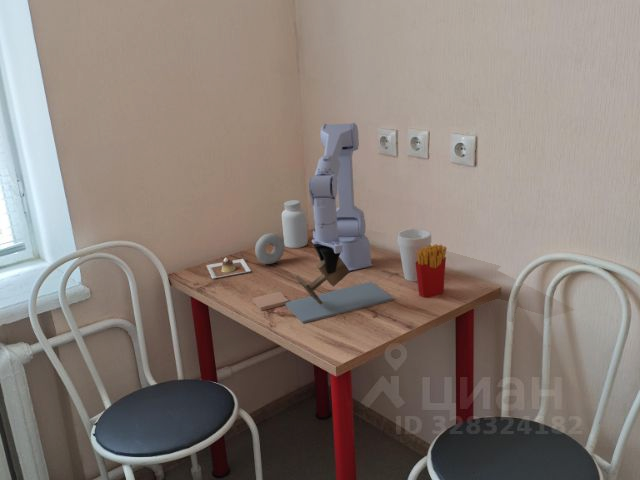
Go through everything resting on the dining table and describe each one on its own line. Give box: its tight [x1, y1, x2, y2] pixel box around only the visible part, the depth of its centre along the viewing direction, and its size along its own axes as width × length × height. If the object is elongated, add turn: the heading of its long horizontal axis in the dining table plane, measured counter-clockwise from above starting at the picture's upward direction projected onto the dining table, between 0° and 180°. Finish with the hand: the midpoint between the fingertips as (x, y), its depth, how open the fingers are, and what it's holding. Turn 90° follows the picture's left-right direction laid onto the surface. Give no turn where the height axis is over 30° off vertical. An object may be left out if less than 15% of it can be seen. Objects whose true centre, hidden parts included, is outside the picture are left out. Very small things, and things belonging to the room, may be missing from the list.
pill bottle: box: [281, 199, 308, 249], centre depth 218 cm, size 8×8×15 cm
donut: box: [254, 232, 285, 265], centre depth 204 cm, size 10×4×10 cm, turn 122°
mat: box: [284, 281, 394, 324], centre depth 174 cm, size 26×13×1 cm, turn 113°
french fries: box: [416, 244, 447, 299], centre depth 173 cm, size 9×4×13 cm, turn 121°
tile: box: [252, 291, 289, 311], centre depth 178 cm, size 2×7×8 cm
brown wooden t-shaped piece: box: [295, 257, 351, 305], centre depth 170 cm, size 12×7×7 cm
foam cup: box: [397, 228, 432, 282], centre depth 185 cm, size 10×9×13 cm
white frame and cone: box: [206, 256, 252, 279], centre depth 203 cm, size 12×12×5 cm
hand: (329, 271), depth 170 cm, fingers closed on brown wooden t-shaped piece
